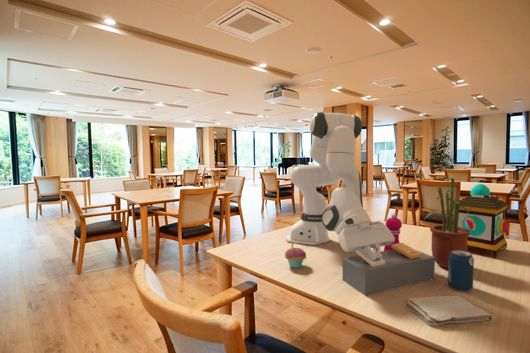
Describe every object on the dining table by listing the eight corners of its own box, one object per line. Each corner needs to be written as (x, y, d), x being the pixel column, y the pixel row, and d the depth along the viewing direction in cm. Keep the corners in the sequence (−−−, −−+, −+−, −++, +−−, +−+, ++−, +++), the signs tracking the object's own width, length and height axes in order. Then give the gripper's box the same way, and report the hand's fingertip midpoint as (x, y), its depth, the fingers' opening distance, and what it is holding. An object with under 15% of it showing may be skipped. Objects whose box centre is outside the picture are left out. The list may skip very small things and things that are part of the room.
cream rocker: (355, 252, 104) (356, 249, 103) (367, 250, 106) (367, 247, 105) (372, 267, 96) (373, 263, 95) (384, 264, 98) (385, 261, 97)
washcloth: (404, 306, 87) (404, 296, 87) (458, 301, 90) (459, 291, 89) (431, 330, 76) (431, 318, 75) (493, 324, 78) (494, 312, 77)
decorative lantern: (511, 249, 131) (515, 183, 128) (499, 260, 119) (502, 187, 116) (460, 239, 147) (462, 180, 144) (444, 248, 134) (446, 183, 132)
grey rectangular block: (342, 279, 105) (342, 256, 104) (407, 266, 115) (407, 245, 114) (364, 295, 93) (364, 269, 93) (434, 279, 104) (435, 255, 103)
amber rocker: (391, 247, 109) (391, 244, 109) (401, 245, 111) (402, 242, 111) (410, 258, 101) (410, 255, 101) (421, 256, 103) (421, 253, 102)
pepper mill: (401, 259, 123) (402, 212, 121) (403, 265, 116) (404, 216, 114) (383, 257, 125) (383, 211, 123) (384, 263, 118) (384, 215, 116)
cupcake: (292, 271, 113) (291, 241, 112) (281, 264, 120) (280, 235, 119) (310, 267, 117) (310, 237, 116) (298, 260, 124) (298, 232, 123)
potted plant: (473, 275, 106) (477, 179, 103) (425, 269, 112) (427, 178, 108) (460, 258, 123) (463, 175, 119) (418, 254, 128) (420, 174, 125)
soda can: (478, 290, 95) (479, 254, 94) (461, 293, 93) (463, 257, 92) (458, 281, 101) (459, 247, 100) (442, 284, 99) (443, 250, 98)
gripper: (377, 225, 111) (397, 258, 103) (331, 231, 104) (348, 267, 96) (386, 215, 107) (407, 249, 98) (338, 221, 100) (356, 258, 91)
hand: (377, 258), depth 97 cm, fingers closed
